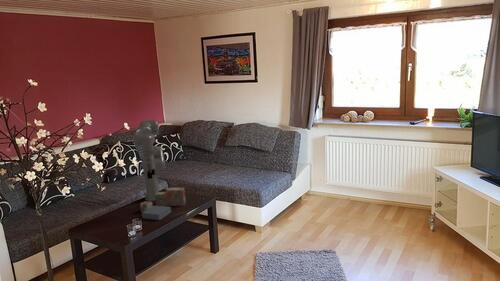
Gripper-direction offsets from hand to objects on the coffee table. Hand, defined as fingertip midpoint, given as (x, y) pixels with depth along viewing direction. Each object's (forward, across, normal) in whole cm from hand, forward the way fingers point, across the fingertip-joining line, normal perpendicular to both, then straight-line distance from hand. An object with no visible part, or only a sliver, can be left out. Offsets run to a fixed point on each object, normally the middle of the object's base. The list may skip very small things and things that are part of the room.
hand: (151, 176), depth 268 cm
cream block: (+25, +2, +6) cm, 26 cm away
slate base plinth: (+26, -10, -3) cm, 27 cm away
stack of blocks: (+26, +10, -10) cm, 29 cm away
